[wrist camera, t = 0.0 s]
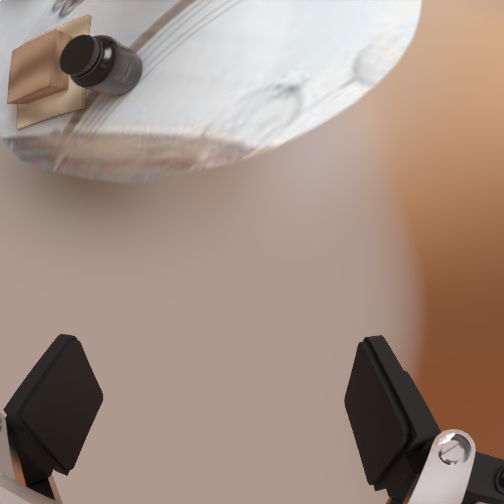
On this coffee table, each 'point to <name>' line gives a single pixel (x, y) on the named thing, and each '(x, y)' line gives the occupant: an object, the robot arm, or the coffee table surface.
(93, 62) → the supplement bottle
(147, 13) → the coffee table surface
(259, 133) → the coffee table surface
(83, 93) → the board
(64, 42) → the walnut block
